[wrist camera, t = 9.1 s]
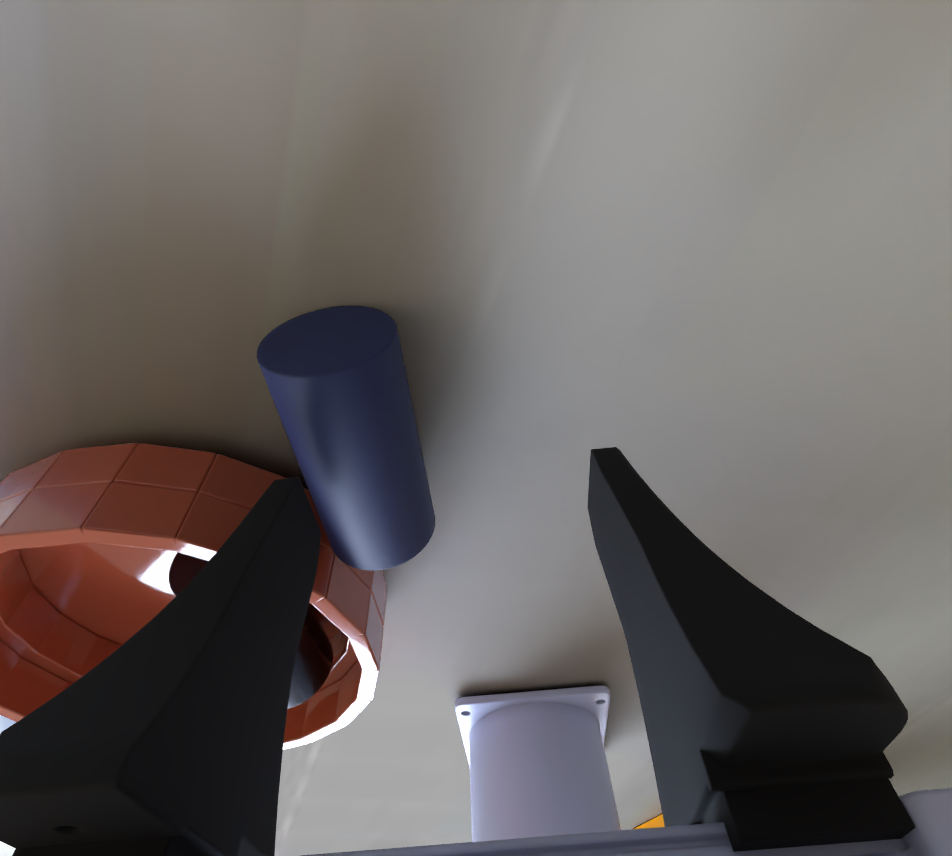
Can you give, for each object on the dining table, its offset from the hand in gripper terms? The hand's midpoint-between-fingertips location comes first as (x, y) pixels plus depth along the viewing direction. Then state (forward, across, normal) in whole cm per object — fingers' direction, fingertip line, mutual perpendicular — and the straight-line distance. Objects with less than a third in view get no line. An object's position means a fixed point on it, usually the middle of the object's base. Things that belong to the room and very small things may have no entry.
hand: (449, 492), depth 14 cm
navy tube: (+2, +1, 0) cm, 2 cm away
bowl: (+4, +10, +7) cm, 13 cm away
